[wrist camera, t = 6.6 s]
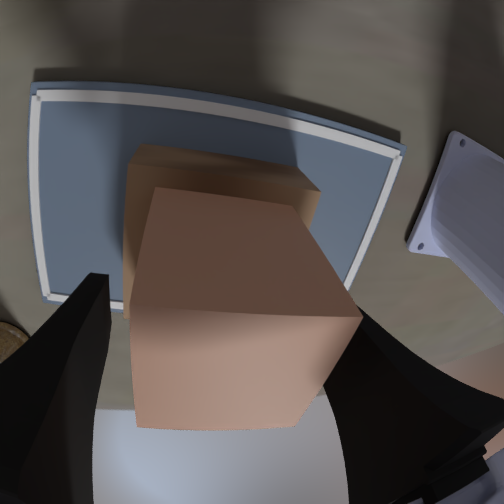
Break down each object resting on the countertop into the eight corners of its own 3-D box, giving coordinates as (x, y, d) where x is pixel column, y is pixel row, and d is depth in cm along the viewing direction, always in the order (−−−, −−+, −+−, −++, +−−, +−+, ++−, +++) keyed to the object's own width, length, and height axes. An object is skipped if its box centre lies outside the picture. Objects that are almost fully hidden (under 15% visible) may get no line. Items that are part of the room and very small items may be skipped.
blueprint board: (401, 143, 15) (408, 147, 15) (329, 318, 21) (332, 325, 20) (36, 81, 10) (30, 82, 10) (46, 295, 16) (42, 303, 16)
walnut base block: (297, 167, 14) (321, 192, 12) (261, 289, 18) (273, 328, 15) (140, 143, 13) (127, 163, 10) (131, 278, 16) (123, 318, 13)
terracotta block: (292, 205, 12) (363, 317, 7) (260, 308, 14) (294, 426, 9) (155, 186, 11) (129, 303, 6) (146, 299, 13) (136, 426, 8)
